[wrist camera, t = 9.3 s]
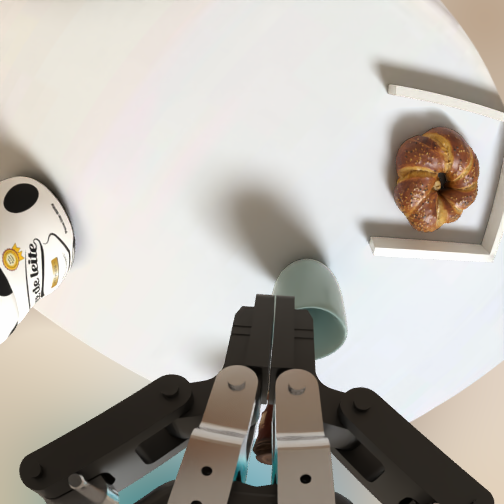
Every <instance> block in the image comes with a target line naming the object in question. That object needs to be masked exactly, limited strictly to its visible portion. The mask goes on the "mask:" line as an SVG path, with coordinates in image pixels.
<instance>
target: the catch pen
mask: <svg viewBox="0 0 504 504" xmlns="http://www.w3.org/2000/svg"><path fill="white" fill-rule="evenodd" d="M388 94H391V95H396V96H401V97H407V98H412V99H417V100H422V101H427V102H432V103H437V104H441V105H445V106H449V107H453V108H457V109H461V110H465V111H469V112H472V113H476V114H480V115H483V116H486V117H490V118H493V119H496V120H499V121H502V122H504V113H503V112H500V111H497V110H494V109H491V108H488V107H485V106H481V105H478V104H475V103H471V102H468V101H464V100H461V99H457V98H453V97H449V96H445V95H441V94H437V93H432V92H428V91H423V90H418V89H413V88H408V87H403V86H397V85H390V84H389V88H388ZM503 232H504V159H503V164H502V169H501V174H500V179H499V183H498V187H497V192H496V196H495V200H494V204H493V207H492V211H491V215H490V218H489V222H488V225H487V228H486V232H485V235H484V238H483V241H482V244H481V245H479V244H467V243H455V242H442V241H429V240H416V239H402V238H388V237H373V236H371V237H370V242H369V245H370V247H371V250H372V253H373V255H374V256H393V257H411V258H429V259H447V260H464V261H482V262H493V260H494V258H495V255H496V252H497V249H498V246H499V244H500V241H501V238H502V235H503Z"/></svg>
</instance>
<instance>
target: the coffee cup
mask: <svg viewBox="0 0 504 504" xmlns="http://www.w3.org/2000/svg"><path fill="white" fill-rule="evenodd" d="M267 400H268V402H269V391H268V394H267ZM273 406H274V405H271V404H267V407H266V409H265V411H264V412H262V417H261V421H260V424H259V433H258V437H257V439H256V442H255V444H254V447H253V451H254V453H255V454H256V459H257V460H258V461H259V462H261V463H264V464H267V465H272V418H273Z"/></svg>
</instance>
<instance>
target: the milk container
mask: <svg viewBox="0 0 504 504" xmlns="http://www.w3.org/2000/svg"><path fill="white" fill-rule="evenodd" d="M74 255H75V237H74V233H73V229H72V225H71V222H70V220H69V217H68V215H67V213H66V211H65V209H64V208H63V206H62V204H61V203H60V201H59V200H58V199H57V197H56V196H55V195H54V194H53V193H52V192H51V191H50V190H49V188H47V187H46V186H45V185H43V184H42V183H40V182H39V181H37V180H35V179H32V178H27V177H22V176H18V177H13V178H9V179H6V180H3V181H1V182H0V344H1V343H2V342H3V341H4V340H6V339H7V338H8V337H9V335H10V334H11V333H12V332H13V331H14V330H15V328H16V326H17V325H18V324H19V323H20V322H21V321H22V319H23V318H24V317H25V315H26V314H27V313H28V311H29V310H30V309H31V307H32V306H33V305H34V304H35V303H36V302H37V301H38V300H40V299H41V298H43V297H45V296H46V295H48V294H50V293H51V292H53V291H54V290H55V289H56V288H57V287H58V286H59V285H60V284H61V283H62V281H63V280H64V279H65V277H66V276H67V274H68V272H69V270H70V268H71V266H72V264H73V260H74Z"/></svg>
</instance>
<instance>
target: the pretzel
mask: <svg viewBox="0 0 504 504" xmlns="http://www.w3.org/2000/svg"><path fill="white" fill-rule="evenodd" d="M396 170H397V174H398V177H399V178H398V180H397V186H396V187H395V189H394V199H395V203H396V205H397V206H398V208H399V209H400V210H401V211H402V213H404V215H405V216H406V217H407V219H408V221H409V223H410V225H411V226H412V227H413V228H414V229H415V230H416V229H417V230H418V231H421V232H432V231H434V230H437V229H438V228H440V227H441V226H442V225H443V224H444V223H451V222H454V221H456V220H458V218H459V217H461V214H462V212H463V210H464V209H466V208H467V207H469V206H470V205H471V204H472V203H473V202H474V200H475V198H476V196H477V191H478V189H477V187H478V186H477V180H478V176H479V162H478V159H477V156H476V154H475V153H474V152H473V150H472V148H471V147H470V146H469V145H468V144H467V143H466V141H465V140H464V138H463V137H462V136H461V135H460V134H458V133H457V132H455V131H454V130H452V129H449V128H445V127H436V128H432V129H431V130H429V131H428V132H426V133H425V134H423V135H422V136H420V135H418V136H414V137H412V138H410V139H408V140H406V141H405V142H404V143H403V144H402V145H401V146H400V148H399V150H398V153H397V156H396ZM440 172H442V173H444V175H445V177H446V182H445V183H444V187H443V188H441V181H440V178H439V177H438V173H440ZM440 188H441V189H440Z"/></svg>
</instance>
